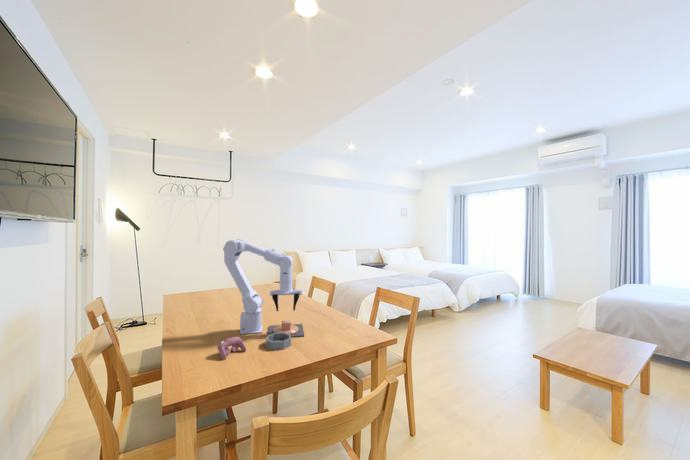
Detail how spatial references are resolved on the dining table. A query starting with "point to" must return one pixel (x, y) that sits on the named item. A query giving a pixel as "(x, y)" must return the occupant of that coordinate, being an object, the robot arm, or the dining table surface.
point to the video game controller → (228, 342)
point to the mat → (298, 334)
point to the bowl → (278, 341)
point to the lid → (286, 328)
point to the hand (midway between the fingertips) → (285, 310)
